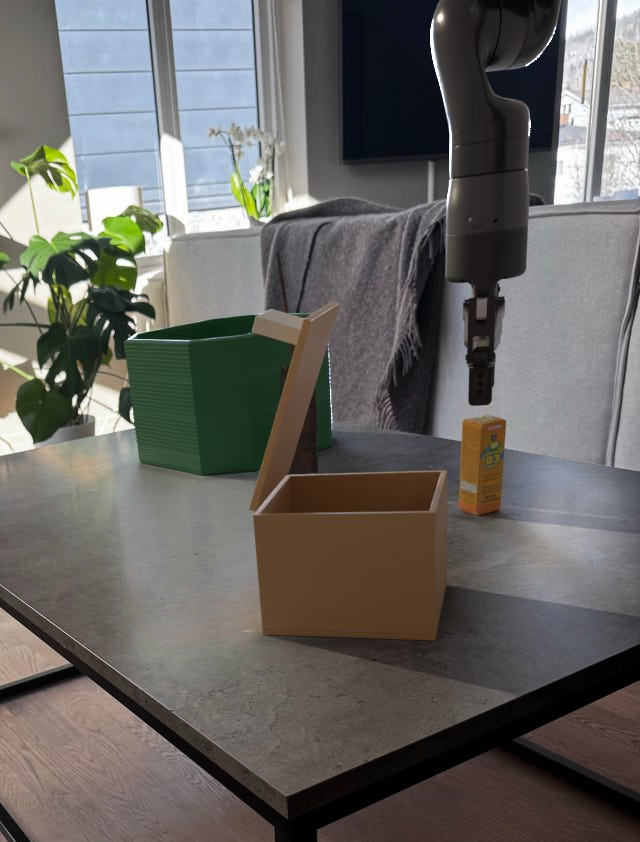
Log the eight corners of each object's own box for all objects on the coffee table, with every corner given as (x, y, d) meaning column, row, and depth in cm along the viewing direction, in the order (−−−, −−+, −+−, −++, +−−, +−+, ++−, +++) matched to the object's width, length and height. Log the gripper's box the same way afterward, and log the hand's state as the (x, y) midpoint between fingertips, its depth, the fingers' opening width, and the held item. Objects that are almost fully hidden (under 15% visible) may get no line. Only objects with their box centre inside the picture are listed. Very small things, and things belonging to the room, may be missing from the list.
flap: (340, 302, 75) (285, 286, 76) (311, 320, 65) (248, 302, 66) (289, 471, 83) (239, 455, 84) (255, 512, 73) (199, 493, 74)
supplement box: (478, 517, 98) (480, 423, 94) (457, 510, 101) (459, 419, 97) (504, 510, 99) (507, 417, 95) (482, 503, 102) (484, 413, 98)
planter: (224, 480, 124) (211, 342, 117) (120, 458, 144) (103, 339, 137) (358, 439, 137) (353, 311, 130) (245, 424, 157) (236, 313, 150)
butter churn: (359, 476, 118) (351, 242, 107) (305, 494, 114) (291, 252, 102) (309, 467, 125) (297, 247, 114) (256, 484, 121) (239, 256, 109)
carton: (446, 584, 82) (447, 469, 78) (435, 640, 72) (435, 512, 68) (293, 582, 87) (286, 474, 83) (262, 634, 77) (252, 515, 73)
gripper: (528, 225, 81) (520, 409, 88) (528, 218, 93) (520, 381, 100) (440, 235, 84) (438, 413, 90) (450, 227, 96) (448, 385, 102)
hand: (481, 396), depth 95 cm, fingers open, 8 cm apart
